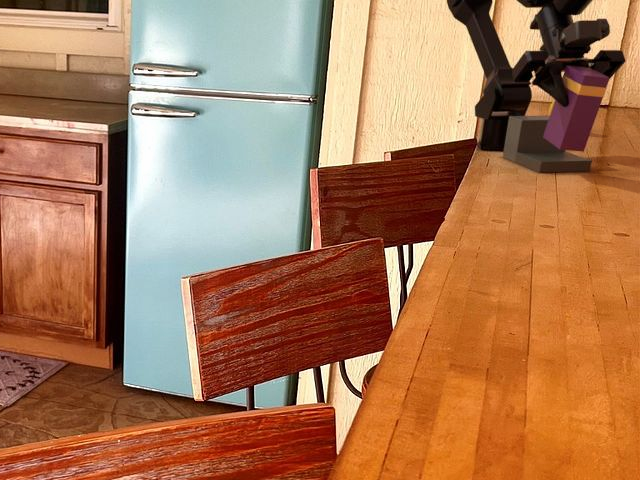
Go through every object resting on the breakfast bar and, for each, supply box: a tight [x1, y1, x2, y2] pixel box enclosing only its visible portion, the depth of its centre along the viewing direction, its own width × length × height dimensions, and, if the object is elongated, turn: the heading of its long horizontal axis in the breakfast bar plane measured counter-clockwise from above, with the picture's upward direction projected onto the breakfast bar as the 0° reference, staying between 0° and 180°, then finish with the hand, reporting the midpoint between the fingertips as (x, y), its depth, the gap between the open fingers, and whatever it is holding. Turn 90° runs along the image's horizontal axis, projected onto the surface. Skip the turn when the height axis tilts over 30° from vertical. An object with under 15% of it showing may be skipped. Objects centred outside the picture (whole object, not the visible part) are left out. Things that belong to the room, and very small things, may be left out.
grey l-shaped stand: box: [502, 114, 593, 174], centre depth 168 cm, size 14×10×8 cm
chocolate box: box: [543, 66, 611, 153], centre depth 158 cm, size 5×8×13 cm, turn 3°
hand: (579, 105), depth 156 cm, fingers closed on chocolate box, 5 cm apart
